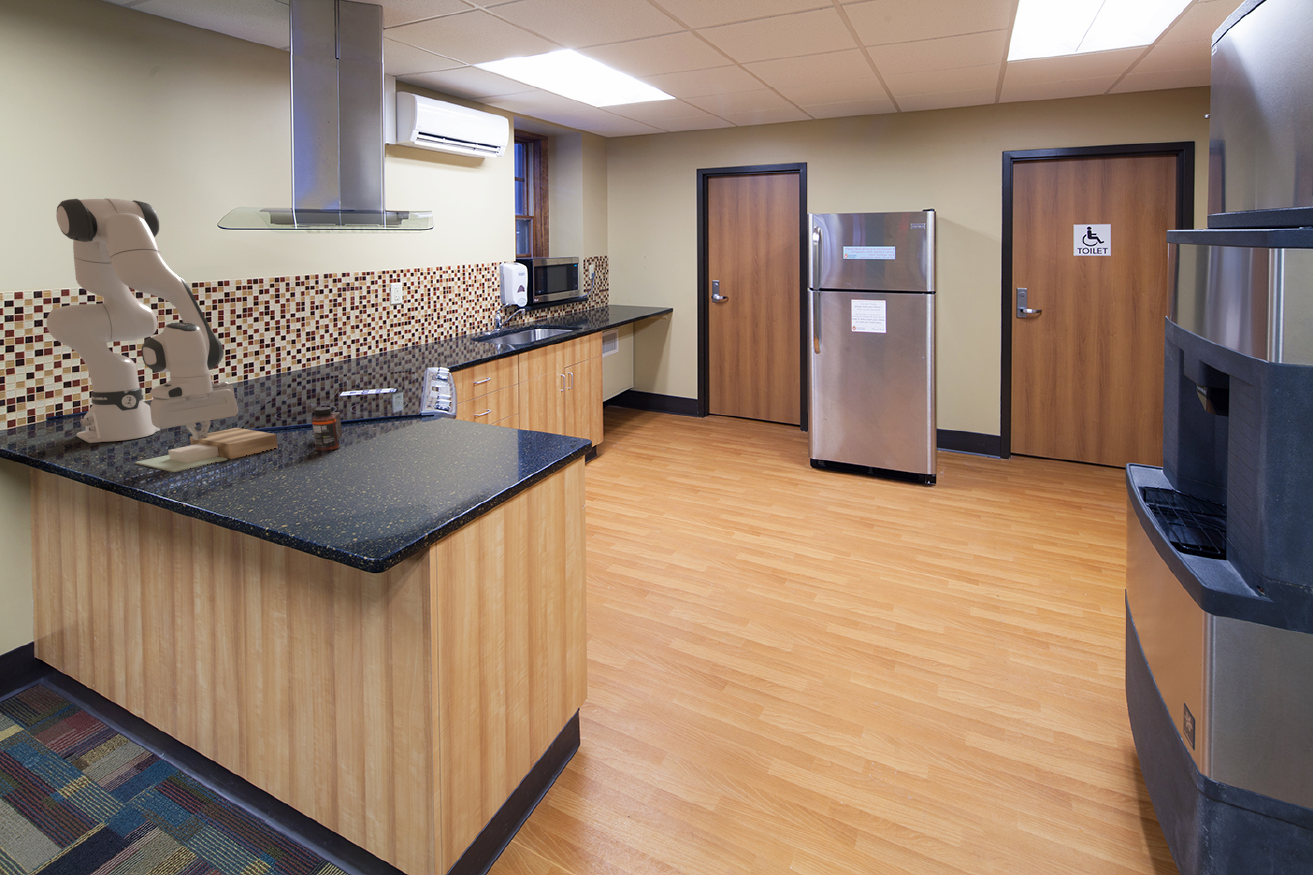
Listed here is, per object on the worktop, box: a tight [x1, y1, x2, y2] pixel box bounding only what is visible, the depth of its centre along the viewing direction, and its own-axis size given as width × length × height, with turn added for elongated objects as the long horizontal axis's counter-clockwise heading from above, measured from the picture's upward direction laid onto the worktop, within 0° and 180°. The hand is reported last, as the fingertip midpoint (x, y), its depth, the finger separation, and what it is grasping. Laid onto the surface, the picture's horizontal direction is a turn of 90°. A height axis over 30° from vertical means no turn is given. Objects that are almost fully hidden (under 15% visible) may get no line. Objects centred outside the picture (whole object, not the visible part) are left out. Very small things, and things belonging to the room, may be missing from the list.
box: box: [313, 412, 343, 440], centre depth 206 cm, size 6×6×7 cm
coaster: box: [167, 444, 219, 463], centre depth 186 cm, size 8×8×2 cm
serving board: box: [189, 427, 279, 460], centre depth 195 cm, size 18×13×4 cm
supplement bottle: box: [311, 406, 340, 452], centre depth 194 cm, size 6×6×11 cm
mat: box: [134, 454, 228, 473], centre depth 184 cm, size 18×13×1 cm
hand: (200, 438), depth 187 cm, fingers closed
